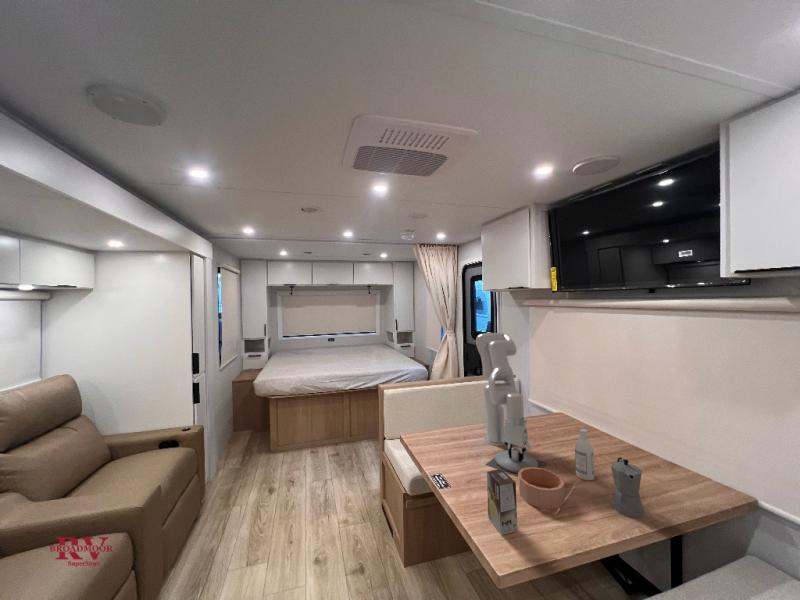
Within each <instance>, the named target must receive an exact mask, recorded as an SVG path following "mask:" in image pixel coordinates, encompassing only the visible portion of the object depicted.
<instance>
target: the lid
mask: <svg viewBox="0 0 800 600" xmlns="http://www.w3.org/2000/svg"><path fill="white" fill-rule="evenodd" d="M519 452H520V451H519V447H517V446H516V447H513V446H512V448H511V458H509V455H508V449H506V451H504V450H501V451H499V452H497V453H496V454H495V456H494V458H495V462H496V463H497V465H498V466H500V467H501V468H503V469H505V470H507V471H510V472H514V473H518V472H519V471H520V470H521V469H523V468H528V467H536V468H538V462H537V460H538V459H537V458H535V457H533V456H532V455H530V454H528V453H526V452H524V459H523V460H522V461H521V462H519ZM536 459H537V460H536Z"/></svg>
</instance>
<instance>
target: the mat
mask: <svg viewBox="0 0 800 600" xmlns="http://www.w3.org/2000/svg"><path fill="white" fill-rule="evenodd" d="M506 450H507V449H504V450H503V451H506ZM535 459H536V460H537V462H538V468H543V469H545V467H546V466H547V465H548V462H546V461H542V460H540V459H537V458H535ZM485 466H487V467H490V468H493V469H494V470H499V469H502V470H503V471H504V472H505V473H506V474H507V475H510V476H511V475H512V476H514V477H516V478H518V473H514V472H510V471H507V470H505V469H503V468H501V467H500V466H498V465H497V463H496V462H495V457H493V458H492V459H491V460H490V461H488V462H486V464H485Z"/></svg>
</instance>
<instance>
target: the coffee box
mask: <svg viewBox="0 0 800 600" xmlns="http://www.w3.org/2000/svg"><path fill="white" fill-rule="evenodd" d="M486 487H487V488H486V491H487V492H486V493H487V518H488V519H489V521H490V522H491V523H492V525H493V526H494V527H495V529H496V530H497V531H498V532H499V534H500V535H507V534H513V533H517V532H518V514H517V513H518V511H517V509H518V508H517V507H518V506H517V482H516V481H515V480H514V479H513V478H512V477H511V475H510V476H509V474H508V473H506V472H504V471H503V470H502V469H499V470H498V469H492V470H490V471H486Z"/></svg>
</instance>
